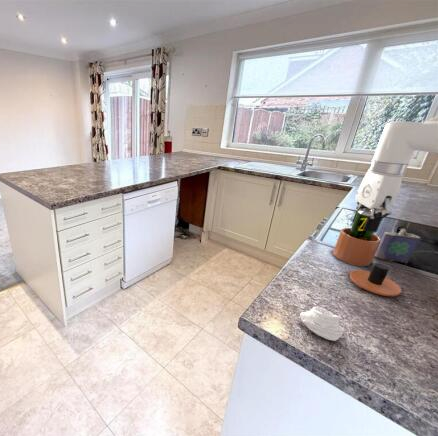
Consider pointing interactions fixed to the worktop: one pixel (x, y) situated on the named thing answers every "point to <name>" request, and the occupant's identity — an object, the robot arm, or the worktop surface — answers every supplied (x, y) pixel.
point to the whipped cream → (323, 323)
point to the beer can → (361, 225)
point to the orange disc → (376, 280)
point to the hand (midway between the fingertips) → (363, 226)
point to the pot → (356, 248)
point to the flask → (397, 246)
